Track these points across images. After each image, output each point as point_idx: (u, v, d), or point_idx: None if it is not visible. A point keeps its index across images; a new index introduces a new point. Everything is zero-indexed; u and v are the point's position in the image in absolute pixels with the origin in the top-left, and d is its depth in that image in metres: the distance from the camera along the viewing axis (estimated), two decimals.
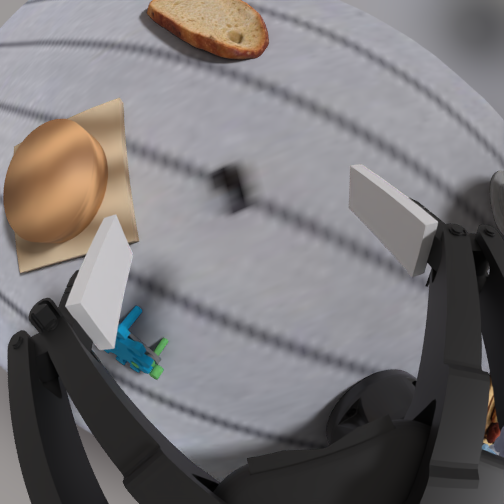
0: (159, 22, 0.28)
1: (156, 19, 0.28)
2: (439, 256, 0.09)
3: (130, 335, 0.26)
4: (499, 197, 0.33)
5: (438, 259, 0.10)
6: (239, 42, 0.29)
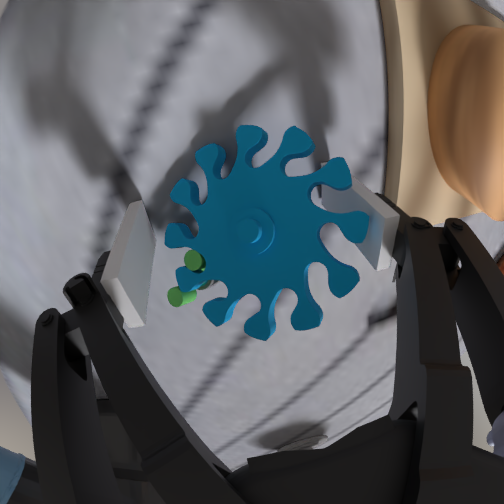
0: None
1: None
2: (403, 251, 0.10)
3: None
4: (310, 442, 0.51)
5: (403, 254, 0.10)
6: None
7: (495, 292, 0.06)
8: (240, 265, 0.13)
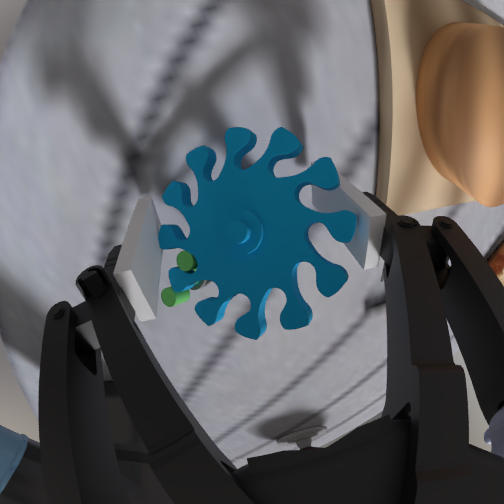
0: None
1: None
2: (391, 250, 0.10)
3: None
4: (309, 433, 0.53)
5: (390, 253, 0.10)
6: None
7: (487, 291, 0.06)
8: (230, 265, 0.13)
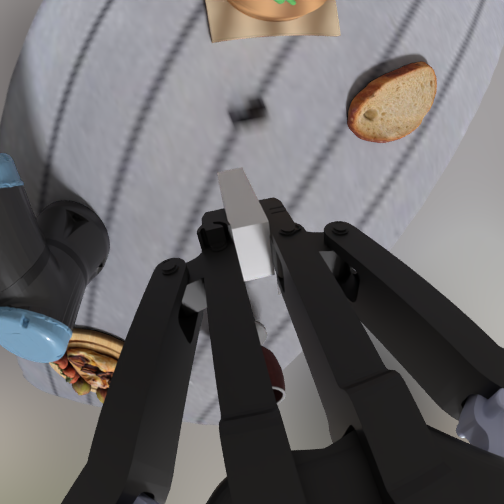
0: (406, 66, 0.33)
1: (410, 65, 0.33)
2: (279, 263, 0.11)
3: None
4: None
5: (280, 266, 0.11)
6: (365, 116, 0.38)
7: (411, 297, 0.07)
8: None
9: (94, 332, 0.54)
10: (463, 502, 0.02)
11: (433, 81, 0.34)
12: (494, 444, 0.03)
